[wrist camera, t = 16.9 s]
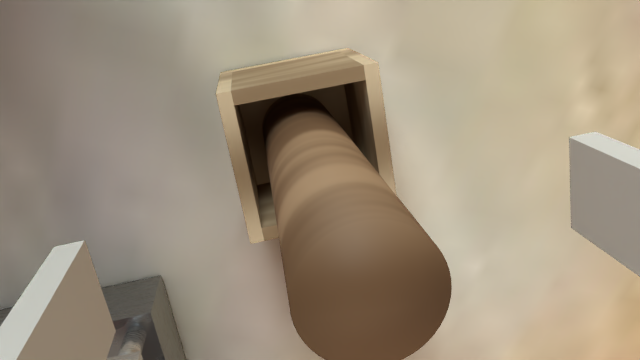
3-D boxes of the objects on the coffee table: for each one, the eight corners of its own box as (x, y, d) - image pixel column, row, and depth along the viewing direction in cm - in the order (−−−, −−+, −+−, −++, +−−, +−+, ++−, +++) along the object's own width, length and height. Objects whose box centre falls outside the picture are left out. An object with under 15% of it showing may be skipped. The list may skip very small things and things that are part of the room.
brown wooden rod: (255, 101, 29) (274, 240, 12) (325, 87, 29) (441, 204, 12) (270, 168, 30) (306, 383, 13) (337, 154, 30) (459, 348, 13)
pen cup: (220, 71, 29) (215, 93, 23) (347, 47, 30) (378, 62, 23) (248, 192, 31) (250, 243, 25) (366, 168, 32) (398, 212, 25)
